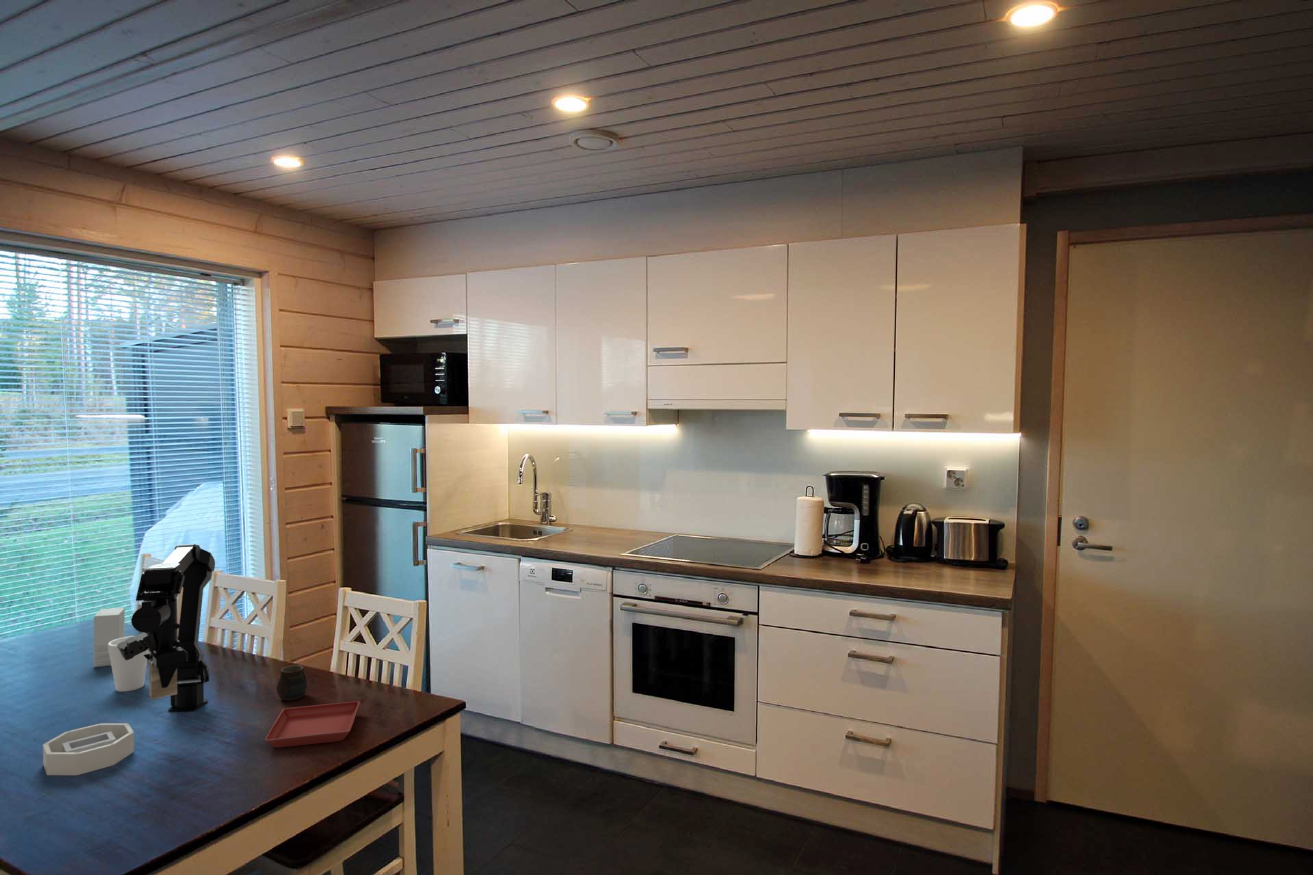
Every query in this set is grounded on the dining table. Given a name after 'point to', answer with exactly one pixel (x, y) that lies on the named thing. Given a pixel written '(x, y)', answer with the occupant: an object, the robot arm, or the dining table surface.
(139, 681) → the foam cup
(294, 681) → the mate gourd
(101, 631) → the skincare box
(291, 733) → the plant saucer
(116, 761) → the octagonal boat dish
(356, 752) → the dining table surface
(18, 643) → the dining table surface
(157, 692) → the wood grain block
